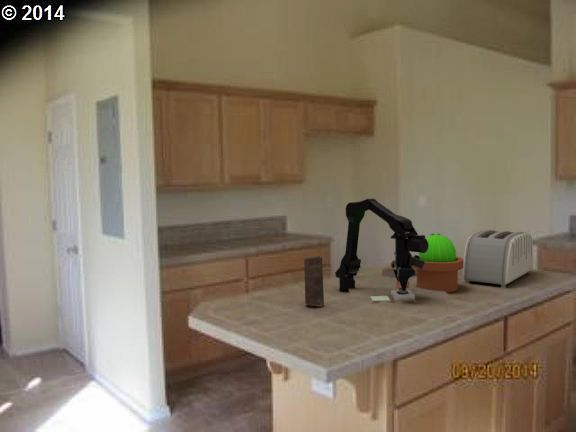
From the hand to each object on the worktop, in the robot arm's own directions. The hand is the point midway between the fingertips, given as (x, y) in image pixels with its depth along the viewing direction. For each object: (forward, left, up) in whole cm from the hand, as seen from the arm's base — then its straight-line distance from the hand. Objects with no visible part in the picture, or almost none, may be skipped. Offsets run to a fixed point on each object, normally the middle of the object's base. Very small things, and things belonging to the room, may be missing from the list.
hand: (402, 289), depth 214 cm
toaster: (+55, +44, -6) cm, 71 cm away
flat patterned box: (+16, +61, -6) cm, 64 cm away
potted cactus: (+19, +22, -6) cm, 30 cm away
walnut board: (-5, 0, -5) cm, 7 cm away
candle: (-36, -4, -6) cm, 36 cm away
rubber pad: (-9, 0, -4) cm, 10 cm away
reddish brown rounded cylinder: (0, 0, -4) cm, 4 cm away
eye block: (0, 0, -4) cm, 4 cm away
